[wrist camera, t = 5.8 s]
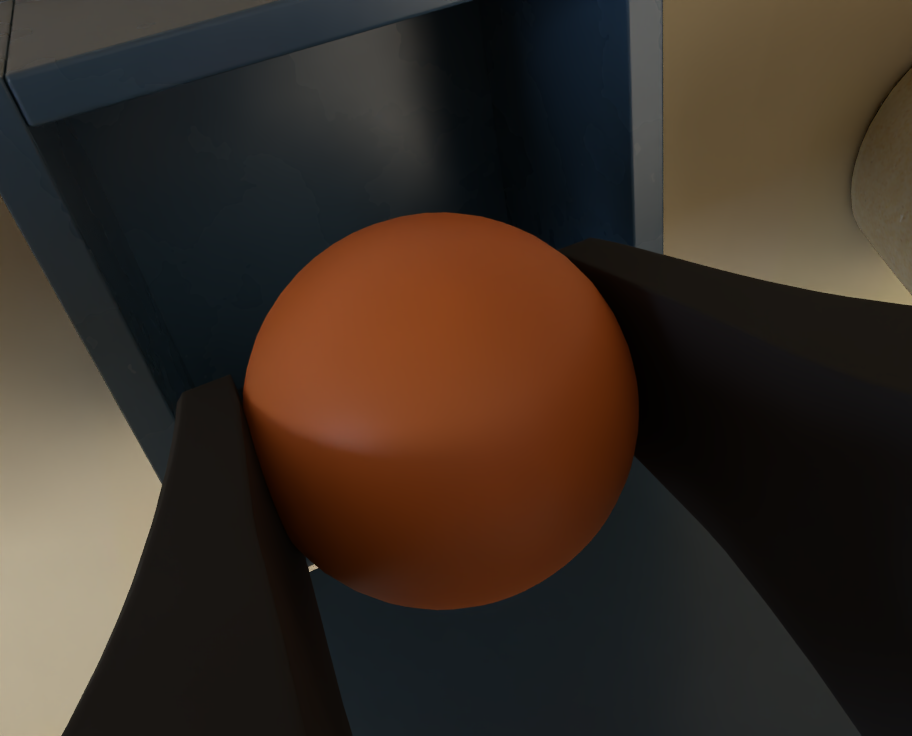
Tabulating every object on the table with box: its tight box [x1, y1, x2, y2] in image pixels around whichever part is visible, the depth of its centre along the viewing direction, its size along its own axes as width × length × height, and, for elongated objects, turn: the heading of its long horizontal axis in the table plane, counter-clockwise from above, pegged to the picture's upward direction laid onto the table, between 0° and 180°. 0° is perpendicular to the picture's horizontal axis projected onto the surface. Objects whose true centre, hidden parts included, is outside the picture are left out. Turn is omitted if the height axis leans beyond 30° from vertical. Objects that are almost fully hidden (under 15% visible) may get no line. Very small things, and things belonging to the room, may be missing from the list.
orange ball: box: [243, 212, 639, 610], centre depth 10 cm, size 5×5×5 cm
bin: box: [0, 0, 663, 567], centre depth 17 cm, size 10×10×7 cm
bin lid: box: [309, 456, 861, 736], centre depth 12 cm, size 11×10×1 cm
